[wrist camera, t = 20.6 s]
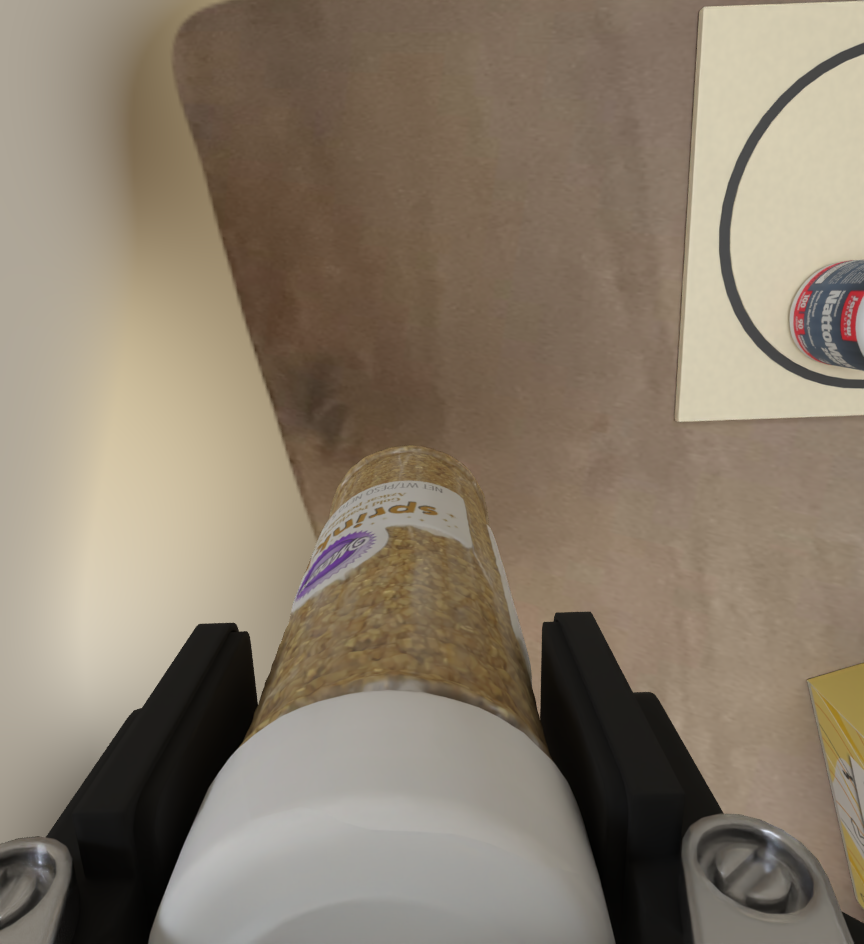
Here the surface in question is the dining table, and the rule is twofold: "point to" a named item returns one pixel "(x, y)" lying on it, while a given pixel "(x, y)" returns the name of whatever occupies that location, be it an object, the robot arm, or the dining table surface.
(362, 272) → the dining table surface
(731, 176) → the beige flat square board
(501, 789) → the sprinkles bottle
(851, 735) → the pasta box
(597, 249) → the dining table surface
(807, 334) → the pill bottle
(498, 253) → the dining table surface
